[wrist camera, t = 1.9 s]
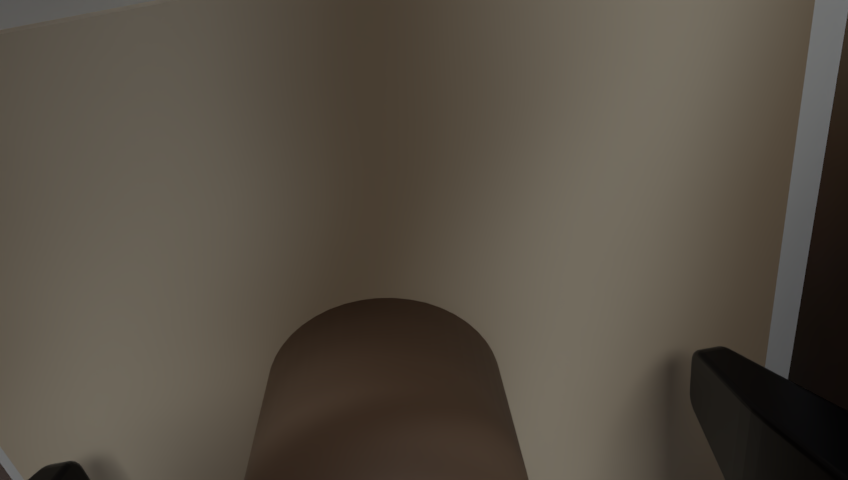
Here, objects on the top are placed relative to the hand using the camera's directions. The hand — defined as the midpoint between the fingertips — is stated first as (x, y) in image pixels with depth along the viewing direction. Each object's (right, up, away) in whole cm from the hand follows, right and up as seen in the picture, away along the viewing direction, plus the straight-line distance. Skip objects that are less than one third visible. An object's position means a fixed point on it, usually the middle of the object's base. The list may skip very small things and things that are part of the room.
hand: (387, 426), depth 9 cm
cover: (0, +1, +1) cm, 2 cm away
